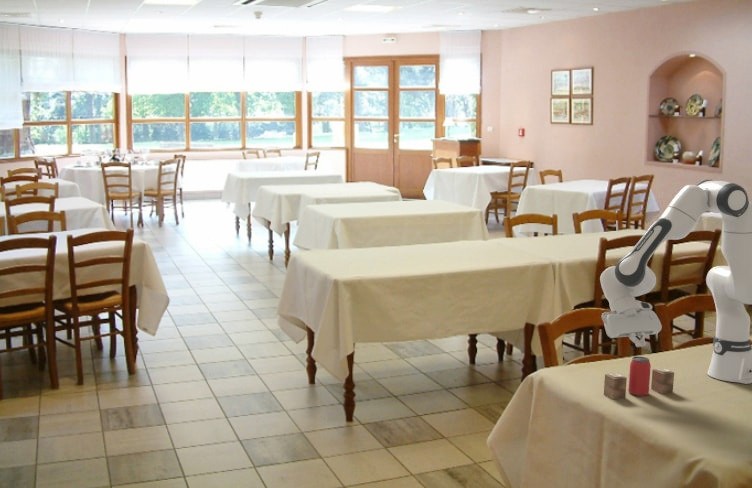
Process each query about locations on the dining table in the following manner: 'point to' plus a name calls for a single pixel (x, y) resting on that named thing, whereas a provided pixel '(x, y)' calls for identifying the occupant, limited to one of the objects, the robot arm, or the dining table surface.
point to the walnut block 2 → (662, 380)
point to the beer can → (639, 376)
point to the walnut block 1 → (615, 386)
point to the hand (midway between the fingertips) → (641, 345)
